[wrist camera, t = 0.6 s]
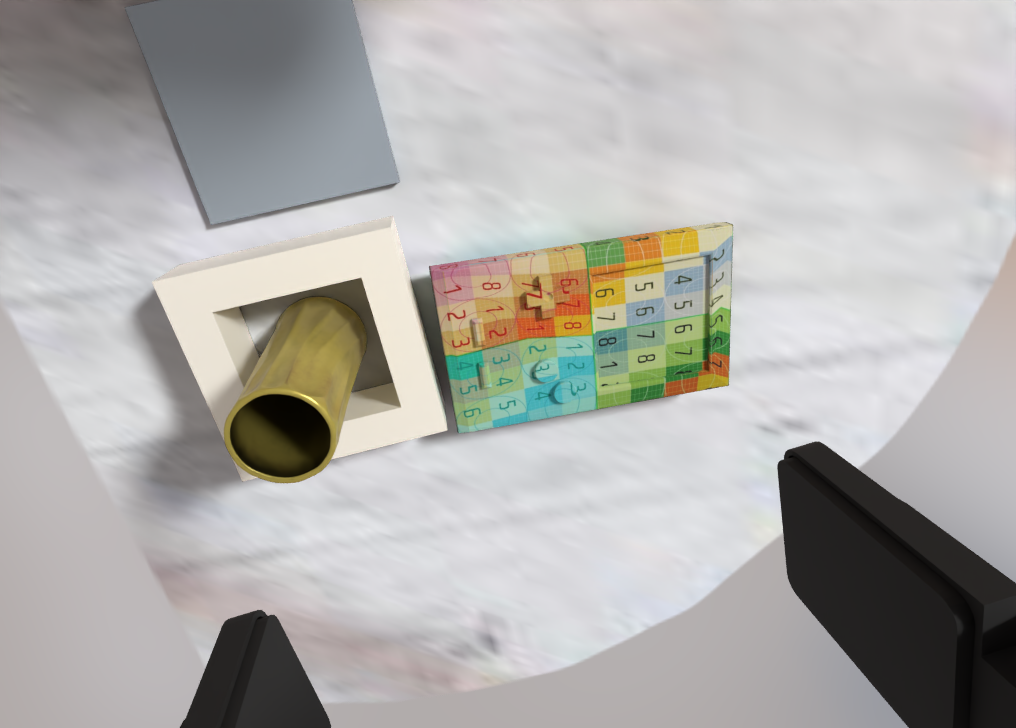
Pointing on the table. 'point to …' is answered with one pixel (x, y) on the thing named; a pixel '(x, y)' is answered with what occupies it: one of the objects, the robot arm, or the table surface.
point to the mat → (266, 100)
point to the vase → (298, 393)
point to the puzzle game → (585, 325)
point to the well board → (295, 268)
